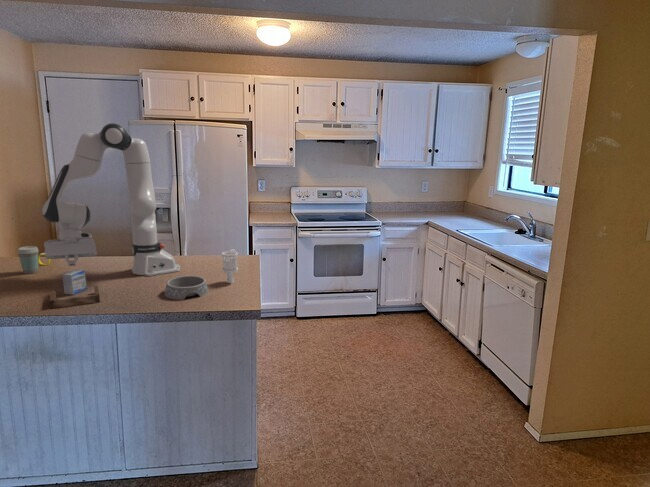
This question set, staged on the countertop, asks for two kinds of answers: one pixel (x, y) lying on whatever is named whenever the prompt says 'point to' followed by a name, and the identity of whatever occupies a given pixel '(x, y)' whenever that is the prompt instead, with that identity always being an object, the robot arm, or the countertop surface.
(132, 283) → the countertop surface
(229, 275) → the white stemmed cylinder
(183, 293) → the dog bowl
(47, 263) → the watch
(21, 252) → the coffee cup
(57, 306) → the brown u-shaped frame
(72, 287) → the medicine box
